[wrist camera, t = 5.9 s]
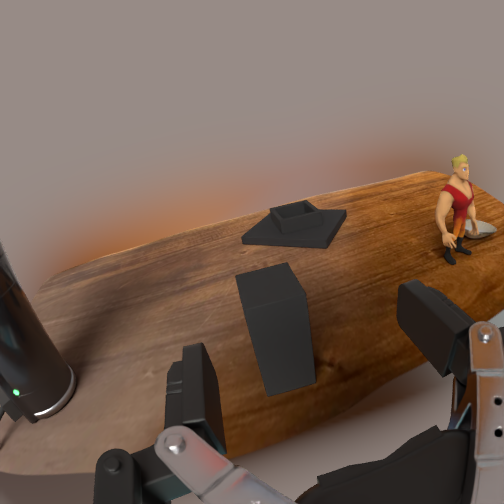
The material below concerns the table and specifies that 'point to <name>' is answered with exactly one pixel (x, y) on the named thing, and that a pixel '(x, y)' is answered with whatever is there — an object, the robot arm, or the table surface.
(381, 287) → the table surface
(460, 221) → the action figure
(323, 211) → the socket pad
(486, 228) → the scallop shell
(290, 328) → the black rectangular block
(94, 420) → the table surface
